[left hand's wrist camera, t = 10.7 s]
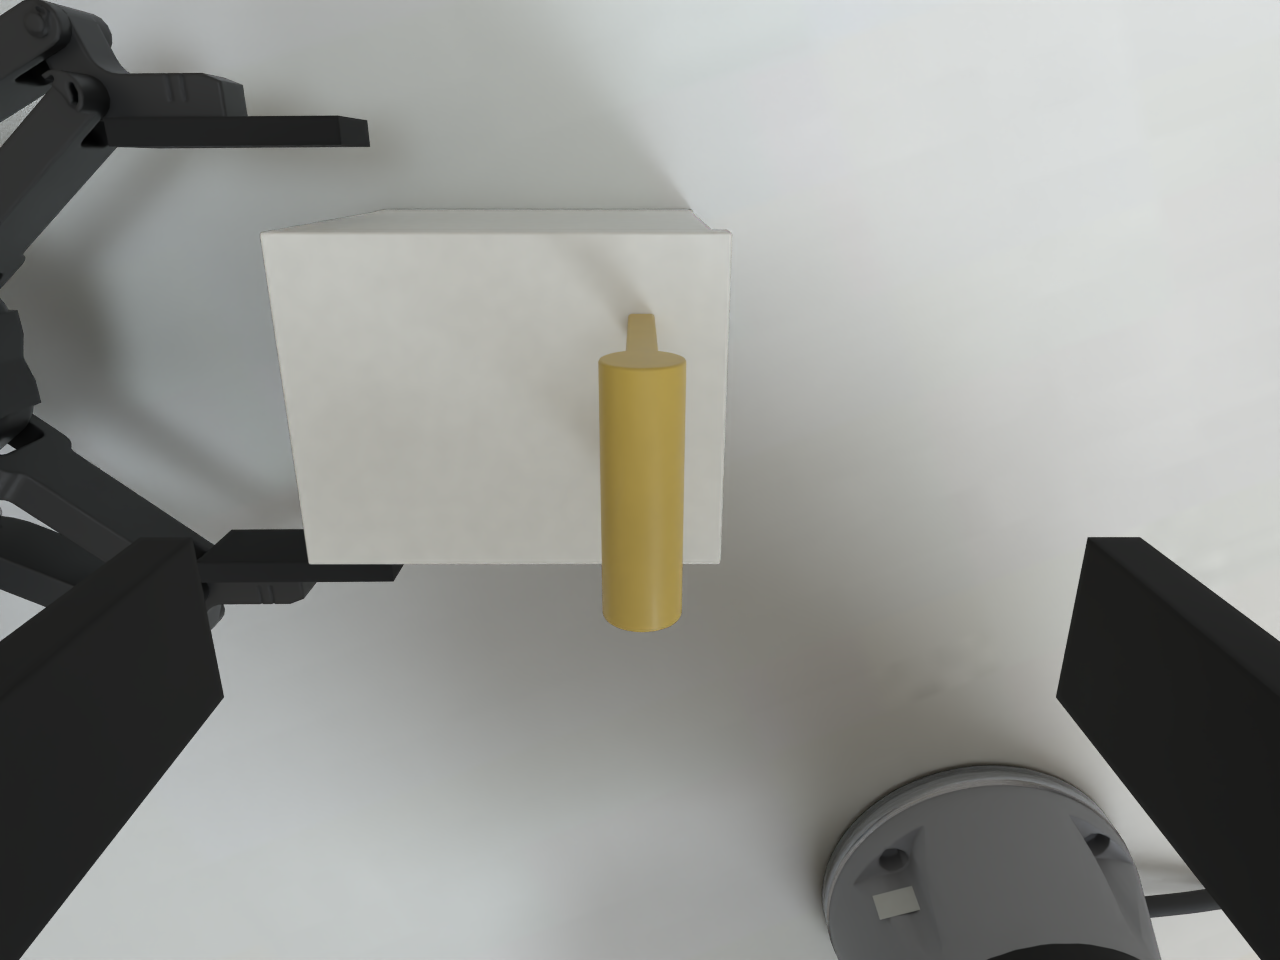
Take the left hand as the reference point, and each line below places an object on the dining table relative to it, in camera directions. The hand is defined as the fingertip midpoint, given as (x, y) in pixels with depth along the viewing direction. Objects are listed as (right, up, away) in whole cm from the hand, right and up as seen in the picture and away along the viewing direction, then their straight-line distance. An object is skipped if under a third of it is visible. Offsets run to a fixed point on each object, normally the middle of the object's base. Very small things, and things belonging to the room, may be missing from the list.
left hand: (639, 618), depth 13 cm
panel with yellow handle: (-4, +4, +12) cm, 13 cm away
